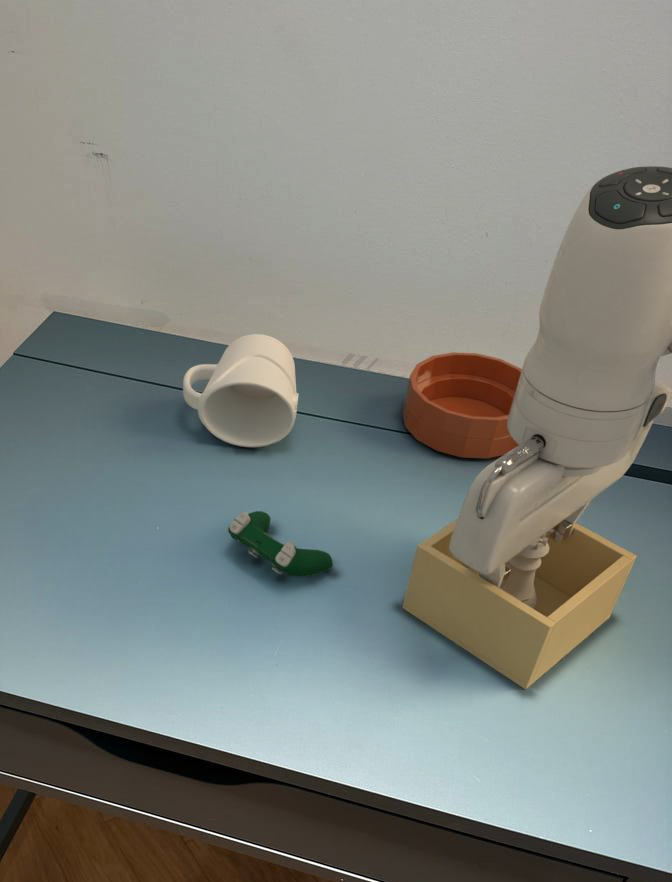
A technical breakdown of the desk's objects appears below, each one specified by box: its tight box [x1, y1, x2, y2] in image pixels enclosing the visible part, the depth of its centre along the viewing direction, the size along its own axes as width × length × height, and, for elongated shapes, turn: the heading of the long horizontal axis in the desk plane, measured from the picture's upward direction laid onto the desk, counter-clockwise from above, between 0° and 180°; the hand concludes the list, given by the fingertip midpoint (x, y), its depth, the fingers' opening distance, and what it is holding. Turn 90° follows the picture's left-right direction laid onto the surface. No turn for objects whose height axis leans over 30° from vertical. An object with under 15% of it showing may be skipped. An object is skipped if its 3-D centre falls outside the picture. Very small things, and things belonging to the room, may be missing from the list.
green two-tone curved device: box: [227, 510, 334, 578], centre depth 89 cm, size 9×4×6 cm
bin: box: [401, 518, 637, 690], centre depth 83 cm, size 13×13×7 cm
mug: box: [182, 333, 299, 448], centre depth 102 cm, size 12×9×8 cm
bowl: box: [402, 351, 522, 459], centre depth 104 cm, size 13×13×5 cm
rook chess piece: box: [500, 533, 549, 610], centre depth 82 cm, size 4×4×8 cm
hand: (524, 559), depth 81 cm, fingers open, 8 cm apart
